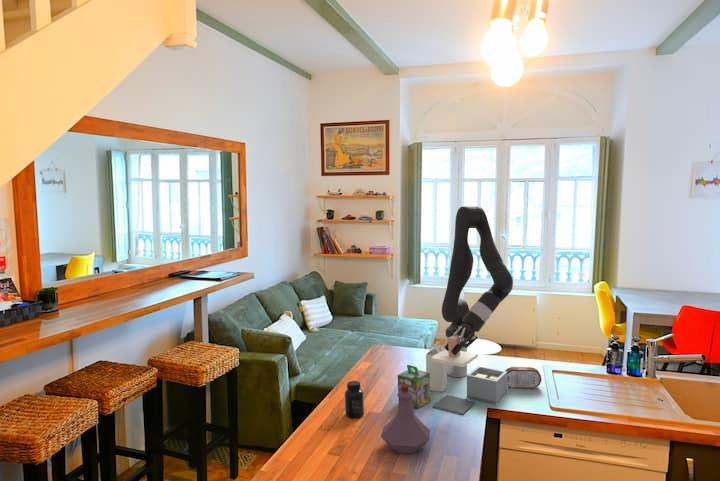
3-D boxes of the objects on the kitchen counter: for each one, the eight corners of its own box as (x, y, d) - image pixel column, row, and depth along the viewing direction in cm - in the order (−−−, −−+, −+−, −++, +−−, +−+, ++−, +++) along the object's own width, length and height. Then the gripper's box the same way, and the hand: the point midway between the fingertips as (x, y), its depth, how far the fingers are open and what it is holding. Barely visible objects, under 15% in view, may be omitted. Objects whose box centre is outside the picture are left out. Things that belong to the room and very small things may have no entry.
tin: (540, 386, 198) (540, 366, 198) (542, 389, 195) (542, 369, 195) (502, 386, 200) (502, 366, 199) (504, 389, 197) (504, 369, 196)
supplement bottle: (366, 411, 179) (365, 380, 178) (360, 420, 173) (359, 387, 172) (349, 409, 181) (348, 378, 180) (342, 417, 175) (341, 385, 174)
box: (466, 397, 190) (466, 375, 189) (478, 387, 199) (478, 365, 198) (496, 404, 182) (496, 381, 182) (507, 393, 192) (507, 371, 191)
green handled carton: (431, 401, 186) (430, 364, 185) (416, 409, 180) (416, 371, 178) (411, 395, 193) (411, 359, 191) (397, 403, 186) (396, 365, 185)
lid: (430, 360, 180) (430, 339, 179) (446, 351, 190) (446, 330, 190) (463, 367, 172) (462, 344, 171) (477, 356, 183) (477, 335, 182)
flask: (439, 456, 148) (439, 393, 146) (387, 463, 144) (386, 399, 142) (421, 431, 164) (421, 373, 162) (374, 437, 160) (373, 378, 158)
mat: (432, 407, 182) (432, 405, 182) (447, 396, 191) (446, 394, 191) (462, 415, 175) (462, 413, 174) (475, 403, 184) (475, 401, 184)
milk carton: (426, 390, 197) (425, 344, 196) (430, 383, 204) (430, 339, 202) (443, 392, 195) (443, 346, 193) (447, 385, 201) (446, 341, 200)
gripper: (461, 306, 189) (434, 340, 186) (481, 314, 175) (452, 351, 172) (473, 318, 191) (446, 352, 188) (494, 327, 177) (466, 363, 175)
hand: (449, 351), depth 180 cm, fingers closed on lid, 4 cm apart
